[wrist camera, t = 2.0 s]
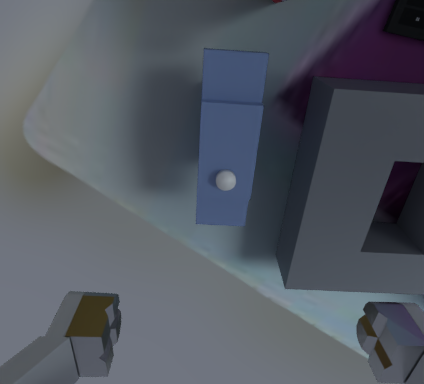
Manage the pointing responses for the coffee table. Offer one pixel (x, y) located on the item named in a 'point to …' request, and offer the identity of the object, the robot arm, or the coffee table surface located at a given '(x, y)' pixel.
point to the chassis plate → (355, 190)
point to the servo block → (229, 133)
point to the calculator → (407, 19)
